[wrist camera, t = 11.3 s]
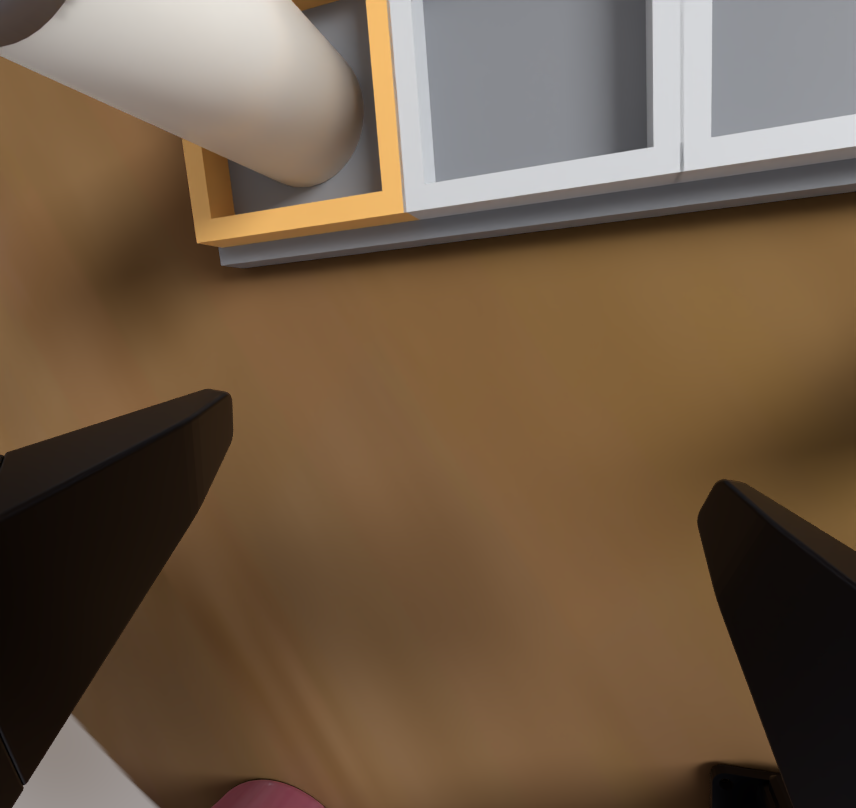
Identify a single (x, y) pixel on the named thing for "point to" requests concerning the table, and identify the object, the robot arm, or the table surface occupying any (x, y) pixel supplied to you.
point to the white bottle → (203, 75)
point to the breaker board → (552, 122)
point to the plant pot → (266, 796)
